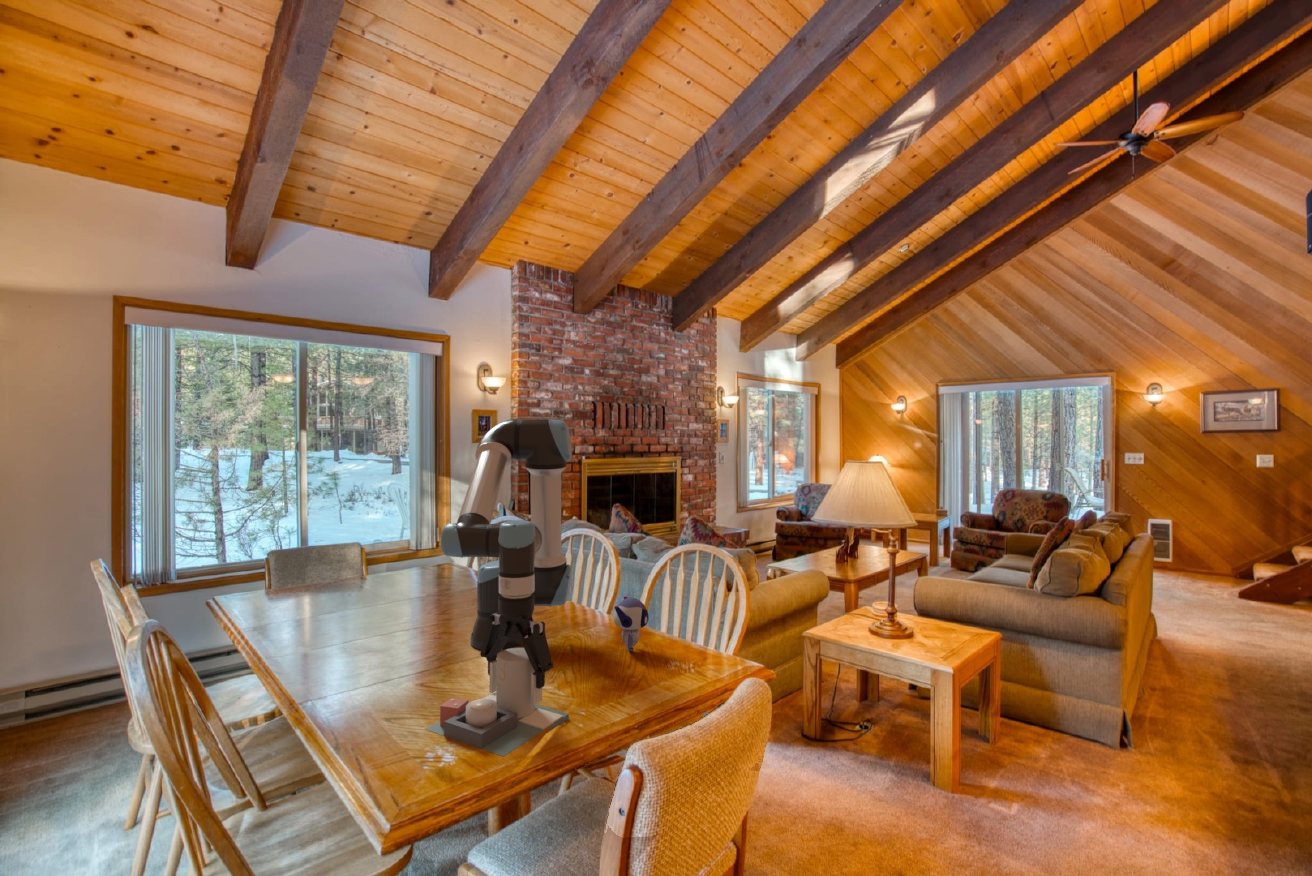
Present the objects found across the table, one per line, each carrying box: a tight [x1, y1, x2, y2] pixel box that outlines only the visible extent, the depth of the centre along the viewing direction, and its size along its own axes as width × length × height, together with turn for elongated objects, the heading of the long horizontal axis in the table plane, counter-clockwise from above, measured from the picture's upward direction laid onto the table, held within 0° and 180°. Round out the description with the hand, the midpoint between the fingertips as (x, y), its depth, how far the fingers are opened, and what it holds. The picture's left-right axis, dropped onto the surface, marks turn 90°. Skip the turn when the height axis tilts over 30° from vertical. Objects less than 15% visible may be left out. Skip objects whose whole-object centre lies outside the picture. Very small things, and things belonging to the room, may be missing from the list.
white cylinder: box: [495, 647, 535, 718], centre depth 133 cm, size 8×8×12 cm
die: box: [439, 697, 469, 726], centre depth 127 cm, size 4×4×4 cm
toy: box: [612, 596, 650, 653], centre depth 172 cm, size 11×10×15 cm
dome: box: [466, 698, 497, 729], centre depth 124 cm, size 6×6×4 cm
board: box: [424, 692, 570, 757], centre depth 128 cm, size 21×20×4 cm
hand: (515, 696), depth 133 cm, fingers open, 11 cm apart
